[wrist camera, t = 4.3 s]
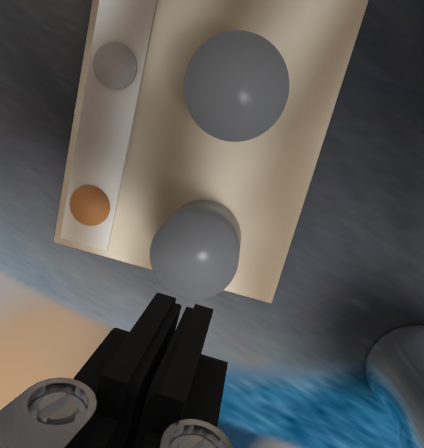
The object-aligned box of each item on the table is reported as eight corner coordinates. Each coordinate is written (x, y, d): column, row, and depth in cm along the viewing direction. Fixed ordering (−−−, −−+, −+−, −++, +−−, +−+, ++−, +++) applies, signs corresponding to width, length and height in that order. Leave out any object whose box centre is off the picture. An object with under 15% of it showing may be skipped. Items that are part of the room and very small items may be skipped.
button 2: (250, 211, 22) (249, 227, 18) (230, 280, 23) (225, 309, 19) (176, 191, 22) (160, 202, 18) (159, 260, 23) (141, 285, 20)
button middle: (293, 63, 19) (303, 45, 15) (268, 149, 20) (272, 153, 17) (208, 41, 20) (197, 18, 16) (188, 128, 21) (173, 127, 17)
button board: (396, -99, 19) (408, -118, 18) (270, 296, 25) (271, 307, 23) (127, -162, 20) (117, -186, 18) (61, 237, 25) (49, 244, 24)
